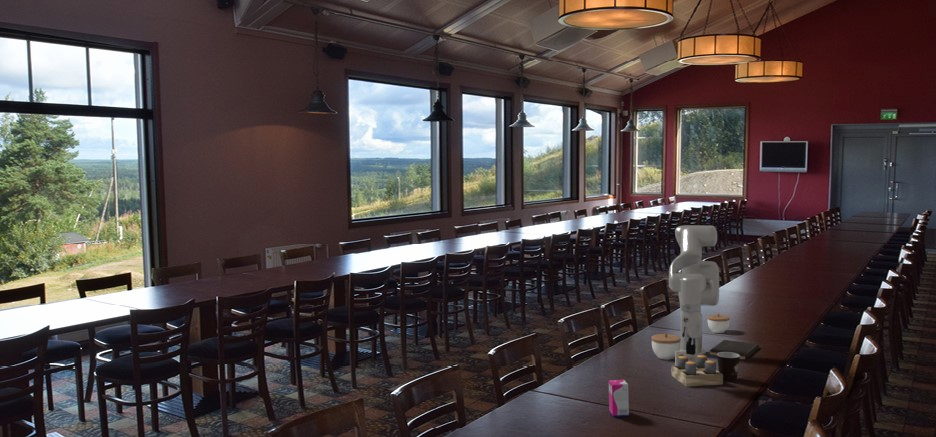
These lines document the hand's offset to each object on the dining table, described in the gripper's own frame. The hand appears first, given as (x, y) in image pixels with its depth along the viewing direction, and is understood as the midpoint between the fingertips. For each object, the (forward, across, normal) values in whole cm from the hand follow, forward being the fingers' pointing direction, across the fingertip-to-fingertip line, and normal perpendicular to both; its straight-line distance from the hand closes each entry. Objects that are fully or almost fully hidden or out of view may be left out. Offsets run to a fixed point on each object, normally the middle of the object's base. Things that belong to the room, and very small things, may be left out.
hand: (690, 354), depth 273 cm
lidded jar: (+10, +88, +22) cm, 92 cm away
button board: (+12, +6, 0) cm, 13 cm away
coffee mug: (+12, +15, -11) cm, 22 cm away
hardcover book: (+12, +57, +2) cm, 58 cm away
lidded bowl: (+11, +30, +24) cm, 40 cm away
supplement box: (+13, -46, +7) cm, 48 cm away
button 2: (+9, +1, 0) cm, 9 cm away
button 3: (+8, +12, 0) cm, 15 cm away
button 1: (+9, +6, +6) cm, 12 cm away
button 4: (+9, +6, -5) cm, 12 cm away
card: (+12, +14, +8) cm, 20 cm away
